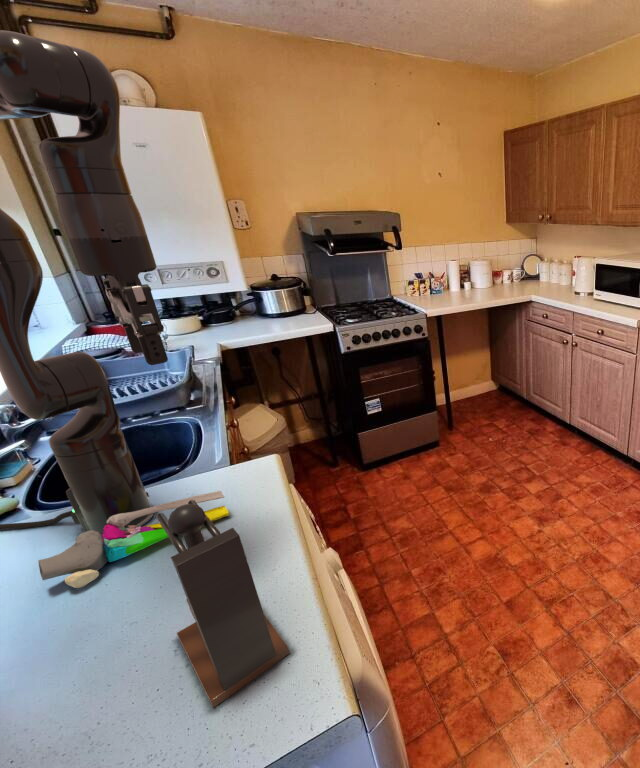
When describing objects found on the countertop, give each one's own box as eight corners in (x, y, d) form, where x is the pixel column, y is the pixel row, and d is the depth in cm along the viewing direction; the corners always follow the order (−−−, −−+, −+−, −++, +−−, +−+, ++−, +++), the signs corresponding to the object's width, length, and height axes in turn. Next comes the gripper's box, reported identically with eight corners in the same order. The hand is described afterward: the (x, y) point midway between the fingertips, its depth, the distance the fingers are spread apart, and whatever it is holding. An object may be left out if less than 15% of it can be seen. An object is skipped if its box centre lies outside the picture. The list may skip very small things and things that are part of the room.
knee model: (232, 540, 85) (48, 609, 67) (218, 510, 89) (40, 567, 70) (235, 510, 81) (38, 575, 62) (220, 479, 84) (29, 532, 66)
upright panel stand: (178, 637, 60) (127, 516, 53) (248, 596, 67) (211, 482, 59) (213, 708, 51) (158, 574, 44) (290, 653, 58) (253, 528, 50)
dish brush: (192, 615, 58) (149, 505, 52) (233, 592, 62) (197, 486, 55) (209, 646, 54) (164, 531, 47) (252, 619, 58) (216, 508, 51)
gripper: (60, 234, 56) (105, 354, 62) (76, 236, 48) (126, 375, 54) (133, 232, 62) (168, 342, 68) (159, 233, 53) (197, 360, 59)
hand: (150, 357), depth 61 cm, fingers open, 8 cm apart
